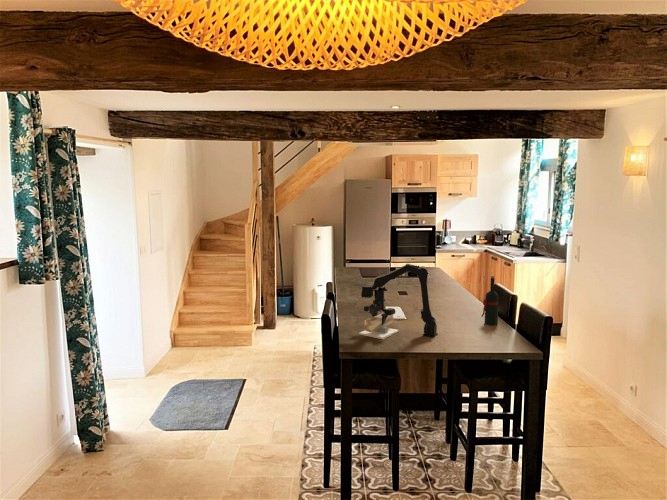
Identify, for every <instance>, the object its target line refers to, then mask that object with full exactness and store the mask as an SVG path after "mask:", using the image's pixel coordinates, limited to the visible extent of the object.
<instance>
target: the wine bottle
mask: <svg viewBox="0 0 667 500" xmlns="http://www.w3.org/2000/svg"><path fill="white" fill-rule="evenodd" d="M489 287H490V291H489V290H488V291H487V292H486V294H485V298H483V303H482V304H483V310H482V314H481V318H484V324H485V325H487V326H497V325H498V323H499V294H498V293H497V292H496V291H495V276H494V275H490V286H489Z"/></svg>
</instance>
